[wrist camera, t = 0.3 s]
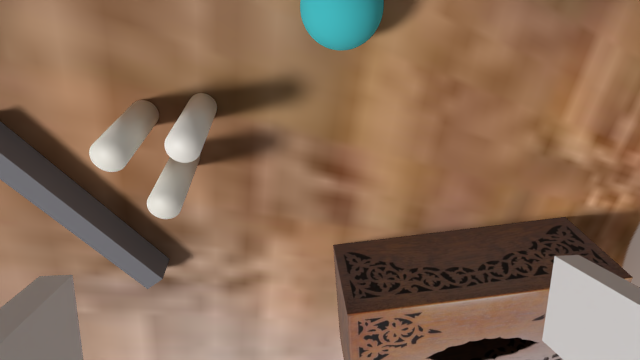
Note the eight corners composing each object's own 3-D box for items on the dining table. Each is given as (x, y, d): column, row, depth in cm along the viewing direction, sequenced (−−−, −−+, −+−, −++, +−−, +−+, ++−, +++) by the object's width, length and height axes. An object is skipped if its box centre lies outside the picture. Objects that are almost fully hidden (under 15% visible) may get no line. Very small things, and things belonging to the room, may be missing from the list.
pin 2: (186, 138, 36) (164, 184, 29) (205, 157, 37) (188, 207, 30) (167, 153, 37) (139, 203, 29) (186, 171, 38) (164, 224, 30)
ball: (346, -59, 30) (362, -63, 25) (387, 12, 33) (409, 22, 27) (282, -7, 31) (283, 0, 26) (326, 57, 34) (336, 75, 29)
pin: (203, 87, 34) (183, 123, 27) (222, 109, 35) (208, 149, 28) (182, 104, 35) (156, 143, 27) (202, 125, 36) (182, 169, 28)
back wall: (-11, 112, 33) (-35, 125, 31) (169, 259, 42) (162, 278, 39) (-26, 126, 34) (-52, 140, 31) (155, 268, 43) (147, 289, 40)
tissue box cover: (339, 335, 51) (353, 413, 42) (332, 243, 44) (347, 314, 35) (538, 308, 52) (592, 379, 43) (563, 215, 45) (632, 277, 36)
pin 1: (143, 94, 34) (106, 132, 26) (165, 116, 35) (135, 158, 27) (123, 111, 34) (81, 153, 27) (145, 132, 35) (110, 178, 28)
